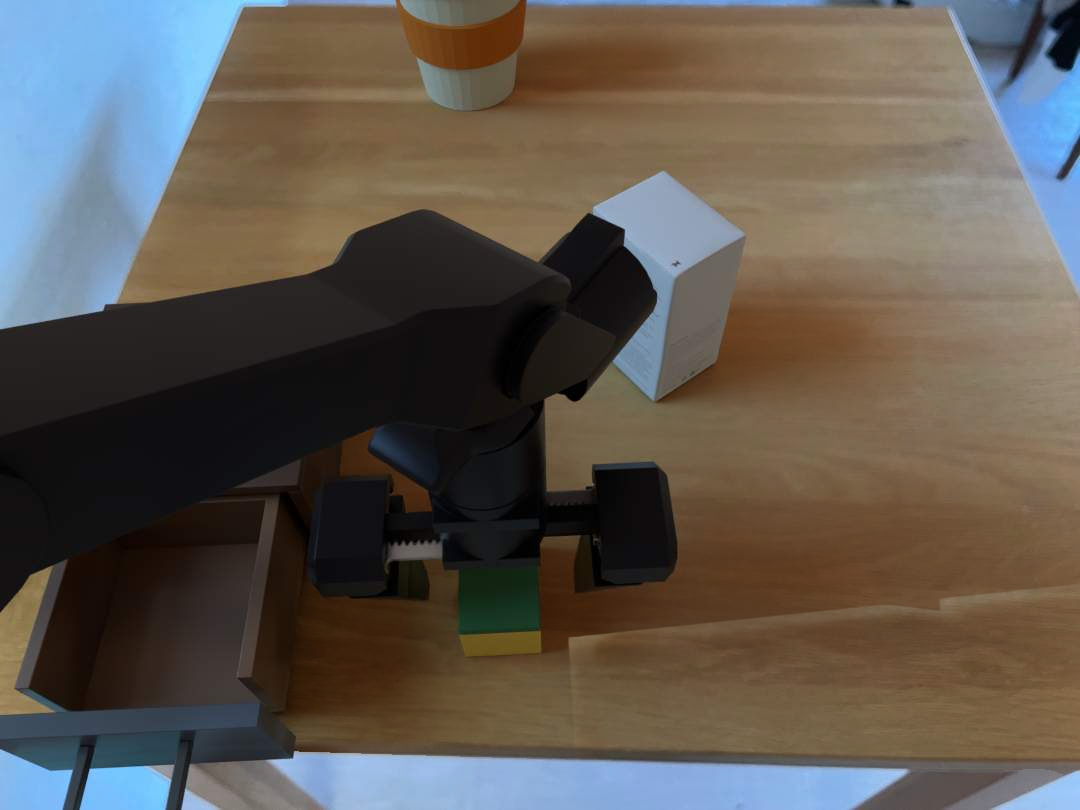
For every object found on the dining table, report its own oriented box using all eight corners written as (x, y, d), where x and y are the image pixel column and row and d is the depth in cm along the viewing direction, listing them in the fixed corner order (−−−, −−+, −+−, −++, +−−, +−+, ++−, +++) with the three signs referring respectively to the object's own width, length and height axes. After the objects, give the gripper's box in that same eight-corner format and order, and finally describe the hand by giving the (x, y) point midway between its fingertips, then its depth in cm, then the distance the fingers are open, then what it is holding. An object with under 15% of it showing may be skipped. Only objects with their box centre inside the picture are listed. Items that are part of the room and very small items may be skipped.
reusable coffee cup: (406, 52, 87) (381, -103, 74) (526, 43, 87) (521, -112, 75) (407, 127, 79) (380, -31, 67) (538, 117, 80) (535, -41, 68)
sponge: (541, 653, 50) (540, 626, 46) (465, 657, 50) (457, 630, 46) (536, 546, 54) (535, 514, 50) (466, 550, 54) (459, 518, 50)
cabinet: (331, 550, 54) (297, 484, 47) (106, 561, 54) (38, 497, 47) (350, 372, 63) (324, 294, 56) (155, 381, 62) (104, 303, 55)
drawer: (282, 854, 43) (241, 834, 38) (23, 868, 43) (-56, 849, 38) (319, 537, 54) (292, 484, 48) (111, 546, 54) (59, 495, 48)
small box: (717, 363, 63) (750, 234, 52) (653, 405, 60) (674, 279, 50) (646, 299, 66) (664, 166, 56) (584, 336, 64) (589, 206, 54)
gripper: (664, 312, 43) (639, 468, 56) (300, 328, 43) (359, 481, 55) (697, 505, 36) (660, 631, 49) (268, 525, 36) (344, 646, 49)
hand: (501, 589), depth 51 cm, fingers open, 9 cm apart
